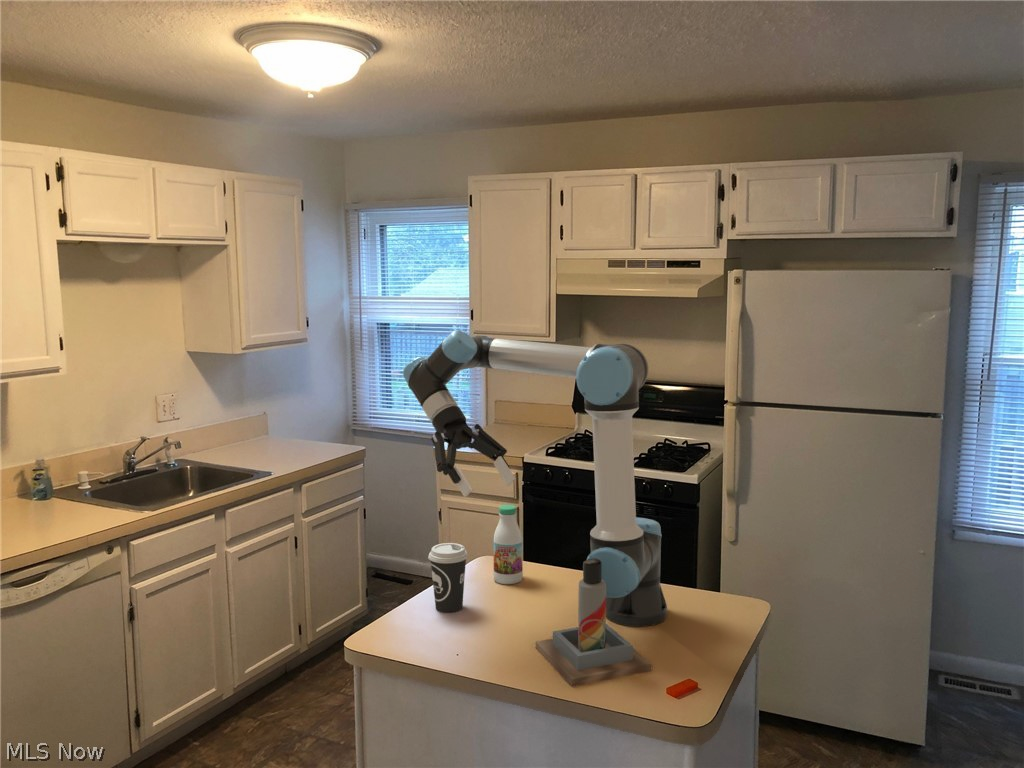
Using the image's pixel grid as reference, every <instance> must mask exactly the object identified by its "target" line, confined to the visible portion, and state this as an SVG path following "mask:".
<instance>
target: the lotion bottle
mask: <svg viewBox="0 0 1024 768" xmlns="http://www.w3.org/2000/svg"><path fill="white" fill-rule="evenodd" d="M582 573H583V574H582V579H581V580H579V582H578V611H577V612H578V615H577V616H578V617H577V619H578V621H577V622H578V626H577V627H578V650H579V651H580V652H581V653H582V652H587V651H593V650H598V649H603V648H606V624H607V618H606V583H605V581H603V580H601V578H602V562H601V561H600V560H599V559H595V558H593V559H588V560H587V559H586V560H584V561H583V562H582Z"/></svg>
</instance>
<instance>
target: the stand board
mask: <svg viewBox="0 0 1024 768" xmlns="http://www.w3.org/2000/svg"><path fill="white" fill-rule="evenodd" d="M572 645H573V646H575V647H576V648H577V649H578V643H575V644H572ZM609 647H611V646H610V645H609V644H608V643H607V642H606V648H609ZM535 650H537V651H538V652H539V654H540V655H541V657H543V658H544V659H545V660H546V661H547V663H549V664H550V666H552V667H553V668H554V670H555V671H556V672H557V673H558V674H559V675H560V676H561V677H562V678H563V679H564V680H565V681H566V683H568V685H569V686H570V687H571V688H573V687H577V686H582V685H587V684H592V683H597V682H601V681H607V680H611V679H616V678H621V677H622V678H623V677H625V676H630V675H635V674H641V673H645V672H650V671H653V670H652V669H653V668H652V667H653V664H652V662H651V661H649V660H648V659H647V657H645V656H643V655H642V654H641V653H640V652H638V650H636V648H634V647H633V660H629V661H624V662H619V663H614V664H609V665H604V666H599V667H594V668H589V669H584V670H579V671H578V670H577V669H576V668H575V667H574V666H573V665H572V664H571V663H570V662H569V661H568V660H567V659H566V658H565V657H564V656H563V655H562V654H561V653H560V652H559V651H558V650H557V649H556V648H555V647H554V646H553V638H548V639H543V640H537V641H535Z"/></svg>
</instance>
